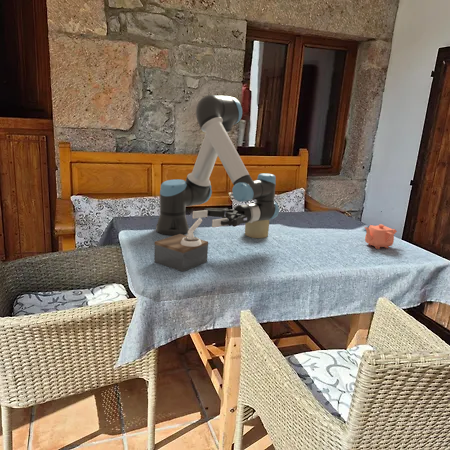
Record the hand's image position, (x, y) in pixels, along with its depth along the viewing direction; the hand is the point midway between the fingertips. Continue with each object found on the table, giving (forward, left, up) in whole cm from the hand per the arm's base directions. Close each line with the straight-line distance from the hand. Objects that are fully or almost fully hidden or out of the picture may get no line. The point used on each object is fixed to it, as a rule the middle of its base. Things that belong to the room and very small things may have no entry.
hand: (202, 219), depth 159 cm
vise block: (-3, -9, -16) cm, 18 cm away
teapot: (+48, +67, -16) cm, 84 cm away
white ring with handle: (+1, -8, -8) cm, 11 cm away
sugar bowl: (-3, +43, -16) cm, 46 cm away
